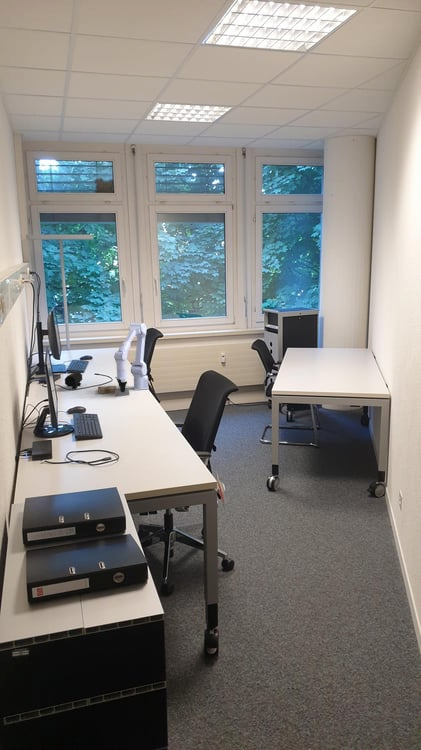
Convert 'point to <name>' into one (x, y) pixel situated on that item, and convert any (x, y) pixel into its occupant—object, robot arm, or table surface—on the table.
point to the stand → (107, 389)
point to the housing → (119, 393)
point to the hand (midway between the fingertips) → (122, 390)
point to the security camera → (73, 380)
